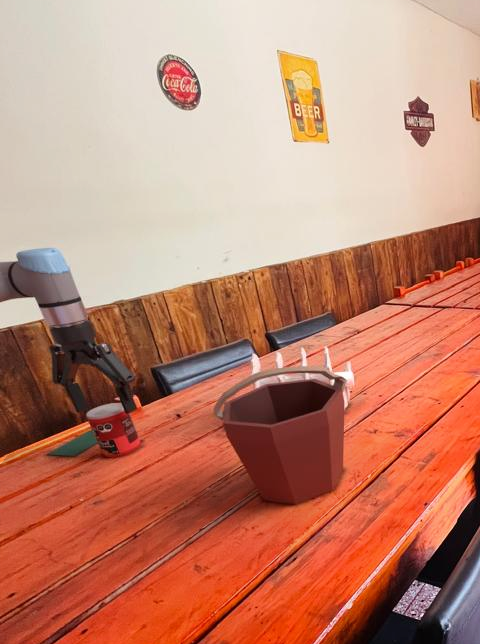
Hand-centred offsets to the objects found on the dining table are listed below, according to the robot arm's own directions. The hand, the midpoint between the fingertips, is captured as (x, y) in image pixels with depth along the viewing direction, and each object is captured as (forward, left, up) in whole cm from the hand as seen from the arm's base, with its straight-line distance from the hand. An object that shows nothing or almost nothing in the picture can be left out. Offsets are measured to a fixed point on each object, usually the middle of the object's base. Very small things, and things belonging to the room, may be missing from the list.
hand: (107, 410), depth 120 cm
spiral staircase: (+38, +24, -11) cm, 46 cm away
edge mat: (-14, +3, -11) cm, 18 cm away
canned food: (0, 0, -11) cm, 11 cm away
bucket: (+53, -9, -11) cm, 55 cm away
